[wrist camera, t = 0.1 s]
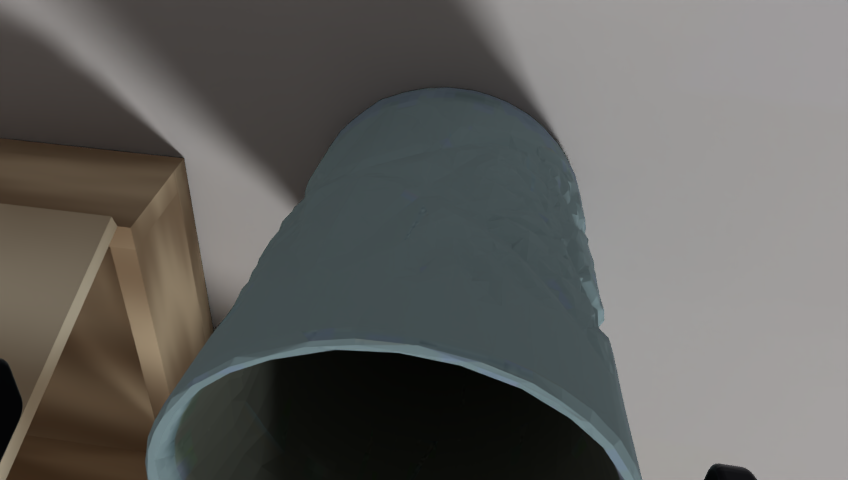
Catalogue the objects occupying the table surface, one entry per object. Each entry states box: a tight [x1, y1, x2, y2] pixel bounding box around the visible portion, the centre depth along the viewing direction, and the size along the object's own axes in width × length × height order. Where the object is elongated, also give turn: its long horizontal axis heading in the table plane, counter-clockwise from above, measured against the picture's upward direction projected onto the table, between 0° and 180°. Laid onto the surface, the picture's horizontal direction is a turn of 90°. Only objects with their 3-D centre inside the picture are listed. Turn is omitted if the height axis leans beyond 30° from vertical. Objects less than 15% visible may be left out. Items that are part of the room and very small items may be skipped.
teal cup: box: [145, 87, 642, 480], centre depth 20 cm, size 10×10×12 cm
